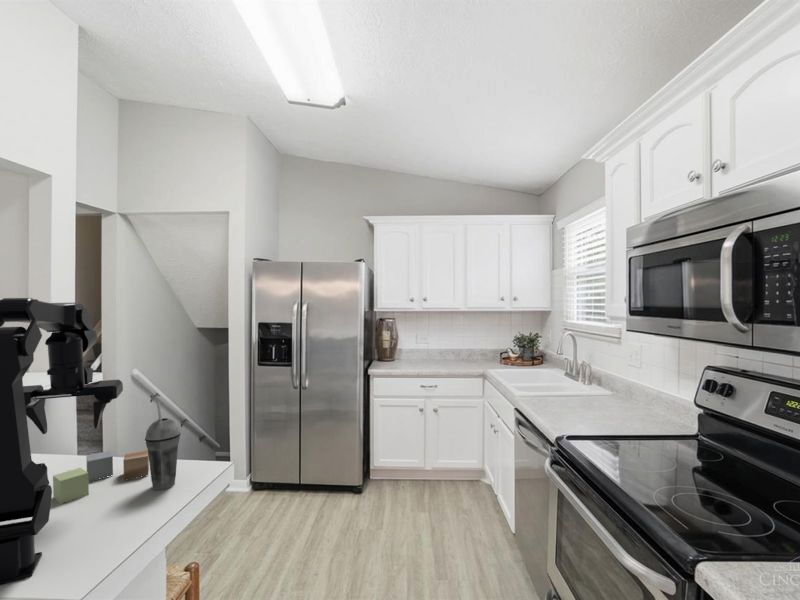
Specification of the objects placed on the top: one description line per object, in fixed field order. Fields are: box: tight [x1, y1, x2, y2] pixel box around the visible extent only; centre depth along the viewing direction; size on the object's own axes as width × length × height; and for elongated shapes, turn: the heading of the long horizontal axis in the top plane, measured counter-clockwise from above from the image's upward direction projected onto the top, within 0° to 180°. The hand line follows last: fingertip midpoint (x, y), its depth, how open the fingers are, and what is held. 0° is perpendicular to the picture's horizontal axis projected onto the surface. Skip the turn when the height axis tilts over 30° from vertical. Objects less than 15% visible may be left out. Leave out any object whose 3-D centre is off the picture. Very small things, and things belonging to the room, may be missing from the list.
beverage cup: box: [144, 400, 181, 491], centre depth 96 cm, size 7×7×20 cm
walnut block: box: [123, 449, 150, 481], centre depth 103 cm, size 5×5×5 cm
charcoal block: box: [86, 450, 114, 482], centre depth 103 cm, size 5×5×5 cm
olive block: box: [52, 467, 90, 504], centre depth 92 cm, size 5×5×5 cm
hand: (71, 430), depth 90 cm, fingers open, 9 cm apart
